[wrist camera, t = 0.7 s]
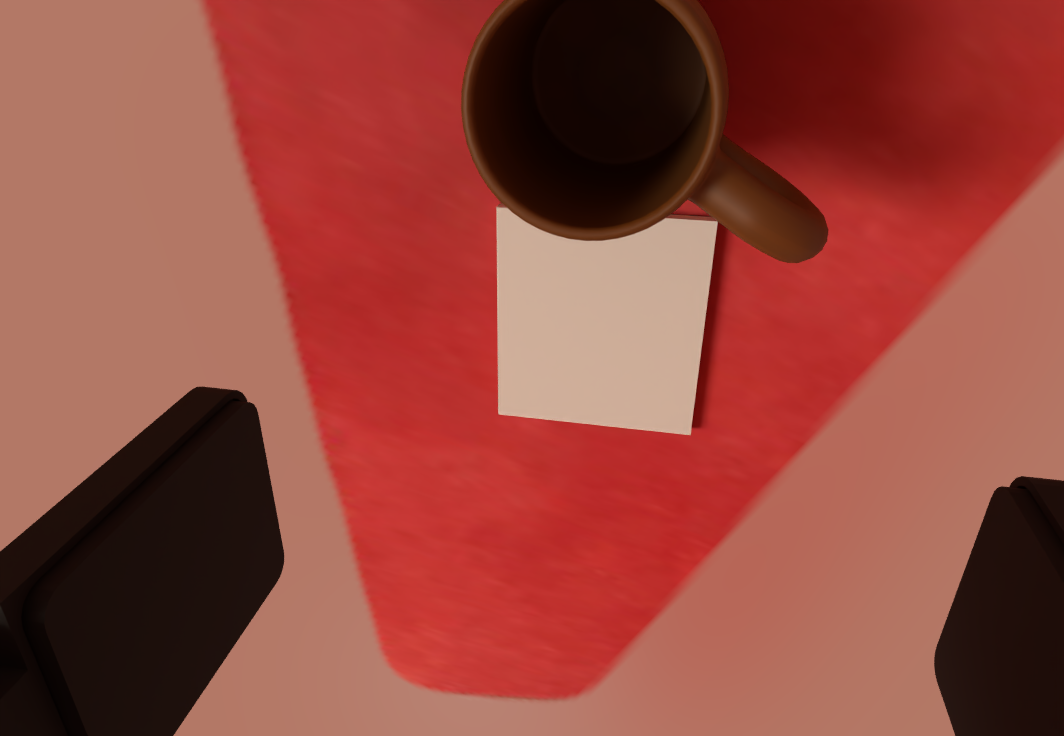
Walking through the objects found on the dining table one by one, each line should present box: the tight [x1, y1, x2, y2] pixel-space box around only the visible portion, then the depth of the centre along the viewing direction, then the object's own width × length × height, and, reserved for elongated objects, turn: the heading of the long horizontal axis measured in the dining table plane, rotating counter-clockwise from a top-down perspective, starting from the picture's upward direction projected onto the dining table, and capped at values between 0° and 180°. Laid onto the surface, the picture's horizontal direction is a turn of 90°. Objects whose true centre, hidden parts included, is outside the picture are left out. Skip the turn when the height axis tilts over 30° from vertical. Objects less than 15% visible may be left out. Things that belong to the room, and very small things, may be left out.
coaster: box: [497, 204, 718, 435], centre depth 33 cm, size 10×9×1 cm
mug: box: [461, 0, 828, 263], centre depth 25 cm, size 12×8×9 cm, turn 60°
